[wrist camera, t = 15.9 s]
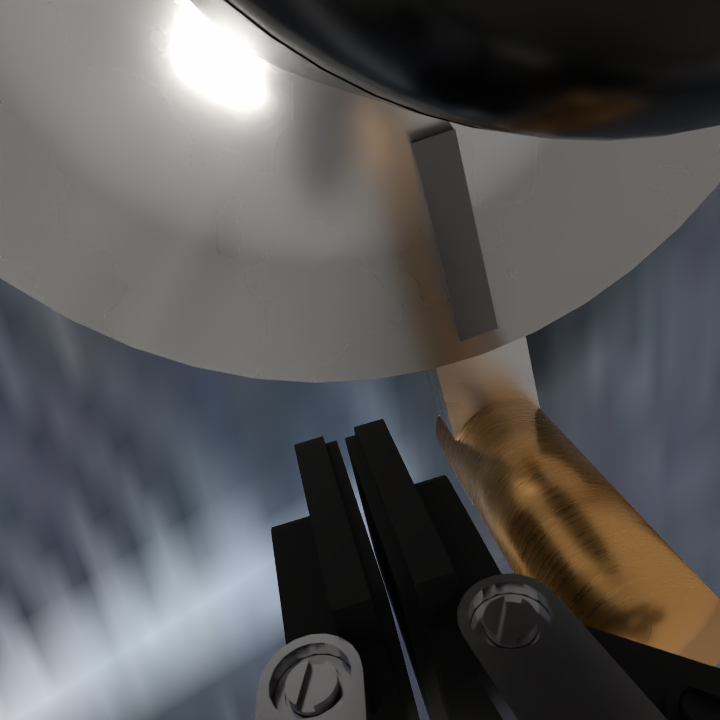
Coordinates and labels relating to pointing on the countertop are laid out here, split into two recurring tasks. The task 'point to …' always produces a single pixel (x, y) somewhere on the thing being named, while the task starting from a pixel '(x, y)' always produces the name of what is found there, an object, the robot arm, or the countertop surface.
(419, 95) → the supplement bottle
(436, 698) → the robot arm
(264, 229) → the turntable
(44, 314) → the countertop surface
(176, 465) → the countertop surface
